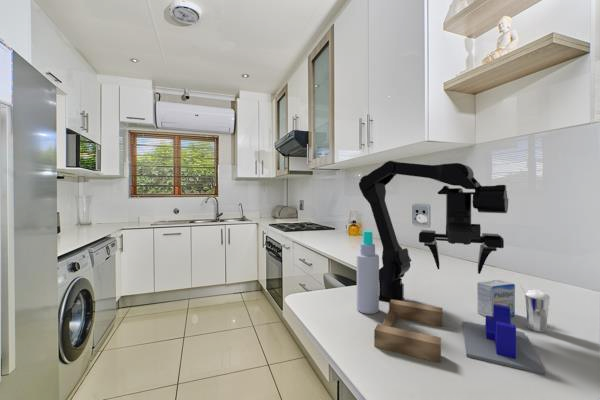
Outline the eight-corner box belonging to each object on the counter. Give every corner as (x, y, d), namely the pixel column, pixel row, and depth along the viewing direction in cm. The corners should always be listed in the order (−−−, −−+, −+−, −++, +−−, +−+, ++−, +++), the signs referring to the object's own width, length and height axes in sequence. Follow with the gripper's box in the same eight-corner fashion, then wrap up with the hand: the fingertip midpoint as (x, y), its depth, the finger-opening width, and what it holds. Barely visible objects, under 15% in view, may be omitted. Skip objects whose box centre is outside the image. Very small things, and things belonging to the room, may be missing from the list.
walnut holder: (374, 346, 59) (374, 329, 59) (391, 311, 76) (391, 299, 76) (440, 362, 53) (440, 344, 53) (442, 321, 70) (442, 307, 70)
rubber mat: (466, 356, 55) (466, 353, 55) (462, 323, 69) (462, 321, 69) (545, 374, 49) (545, 371, 49) (523, 334, 63) (523, 332, 63)
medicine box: (492, 320, 71) (492, 286, 71) (476, 313, 75) (476, 281, 75) (515, 316, 73) (515, 283, 73) (499, 309, 77) (499, 279, 77)
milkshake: (520, 321, 70) (520, 282, 70) (548, 328, 66) (549, 286, 66) (519, 328, 66) (520, 287, 66) (550, 335, 63) (550, 292, 63)
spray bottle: (381, 308, 78) (381, 230, 78) (375, 316, 73) (375, 233, 73) (360, 304, 81) (360, 229, 81) (353, 311, 76) (353, 231, 76)
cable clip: (485, 327, 66) (485, 302, 65) (509, 332, 63) (509, 306, 63) (487, 352, 55) (487, 322, 55) (515, 359, 53) (516, 328, 53)
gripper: (416, 212, 70) (416, 274, 70) (508, 214, 61) (507, 285, 61) (420, 210, 80) (420, 264, 80) (500, 212, 71) (499, 272, 71)
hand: (458, 271), depth 73 cm, fingers open, 9 cm apart
